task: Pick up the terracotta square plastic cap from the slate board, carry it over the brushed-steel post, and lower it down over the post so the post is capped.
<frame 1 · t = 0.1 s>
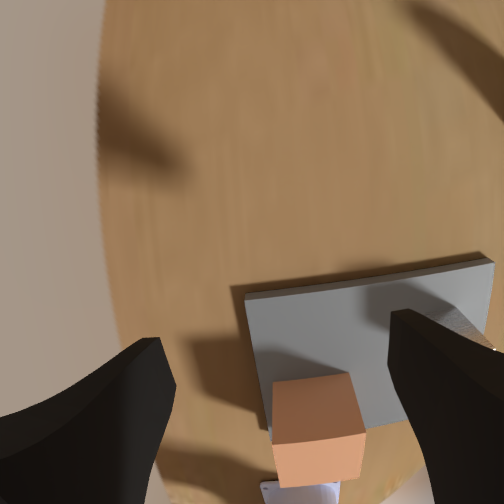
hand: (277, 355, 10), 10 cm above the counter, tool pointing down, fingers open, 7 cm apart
board: (378, 359, 21), on the counter
post: (432, 319, 20), resting on board
cap: (312, 404, 21), point 1 cm above the counter, touching board
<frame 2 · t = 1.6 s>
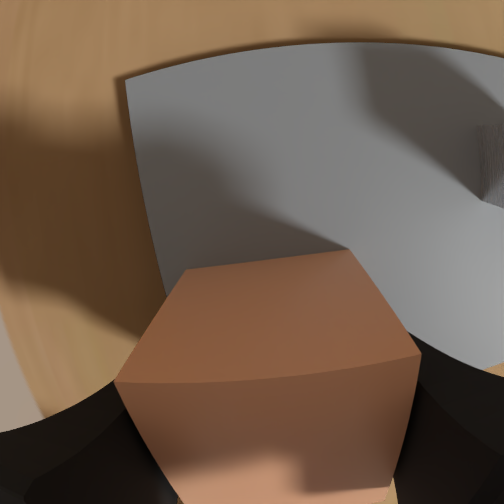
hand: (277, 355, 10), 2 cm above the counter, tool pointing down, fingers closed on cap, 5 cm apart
board: (406, 234, 11), on the counter
post: (490, 160, 9), resting on board
cap: (276, 331, 11), point 1 cm above the counter, touching board, gripper
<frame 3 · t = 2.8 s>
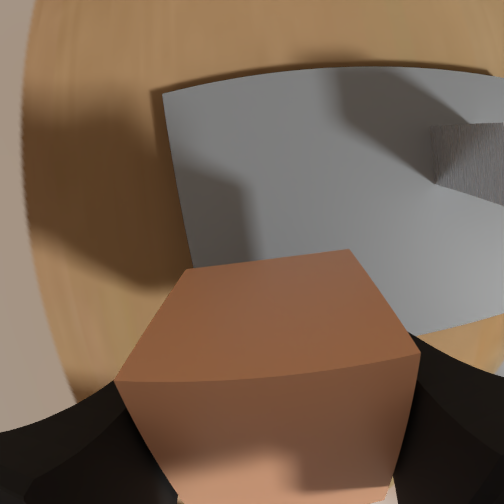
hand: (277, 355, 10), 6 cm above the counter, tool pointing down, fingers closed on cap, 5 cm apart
board: (375, 211, 14), on the counter
post: (445, 153, 13), resting on board
cap: (276, 331, 11), point 5 cm above the counter, touching gripper
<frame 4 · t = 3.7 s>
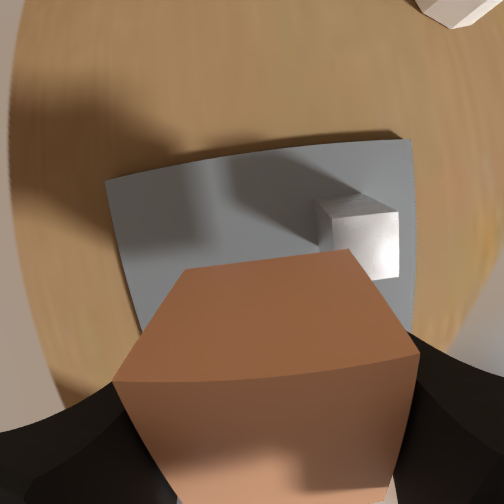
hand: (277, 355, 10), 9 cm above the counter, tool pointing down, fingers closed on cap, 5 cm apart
board: (270, 266, 19), on the counter
post: (336, 215, 18), resting on board
cap: (275, 331, 11), point 8 cm above the counter, touching gripper
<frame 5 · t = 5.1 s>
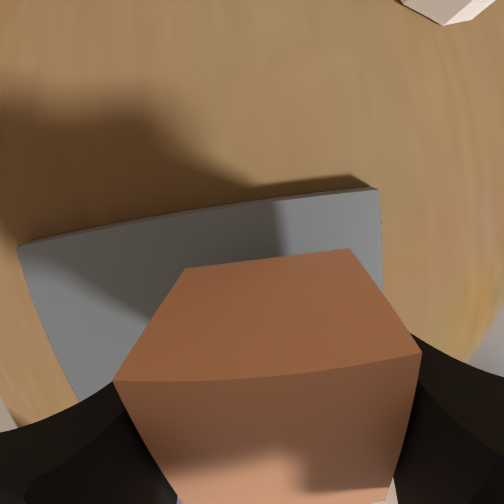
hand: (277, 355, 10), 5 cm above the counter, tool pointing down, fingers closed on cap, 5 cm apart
board: (199, 345, 15), on the counter
cap: (276, 330, 11), point 3 cm above the counter, touching gripper
when the fingers open (3 cm above the counter, at t = 6.0 s): cap stays where it is, resting on post.
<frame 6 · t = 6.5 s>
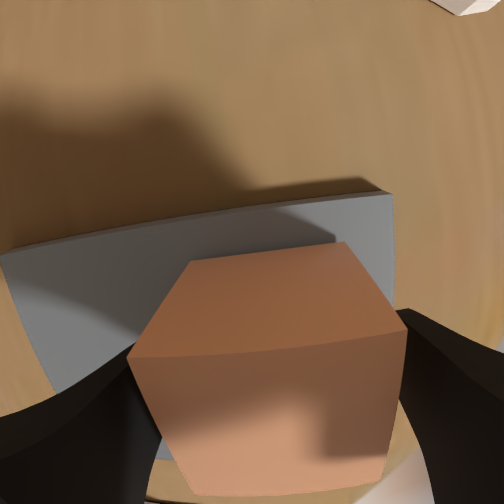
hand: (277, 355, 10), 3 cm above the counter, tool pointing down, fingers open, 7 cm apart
board: (193, 362, 14), on the counter
cap: (276, 320, 11), point 1 cm above the counter, touching post
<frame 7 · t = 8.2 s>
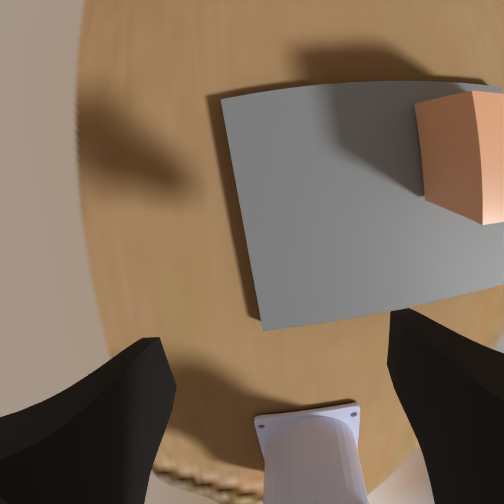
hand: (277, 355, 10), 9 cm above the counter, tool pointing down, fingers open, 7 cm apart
board: (393, 198, 17), on the counter
cap: (459, 150, 15), point 1 cm above the counter, touching post
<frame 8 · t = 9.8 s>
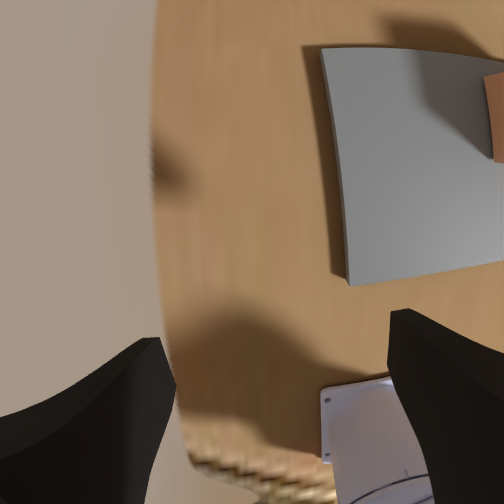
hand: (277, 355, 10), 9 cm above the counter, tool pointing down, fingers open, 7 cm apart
board: (465, 160, 16), on the counter
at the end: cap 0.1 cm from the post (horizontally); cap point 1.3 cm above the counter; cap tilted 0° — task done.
